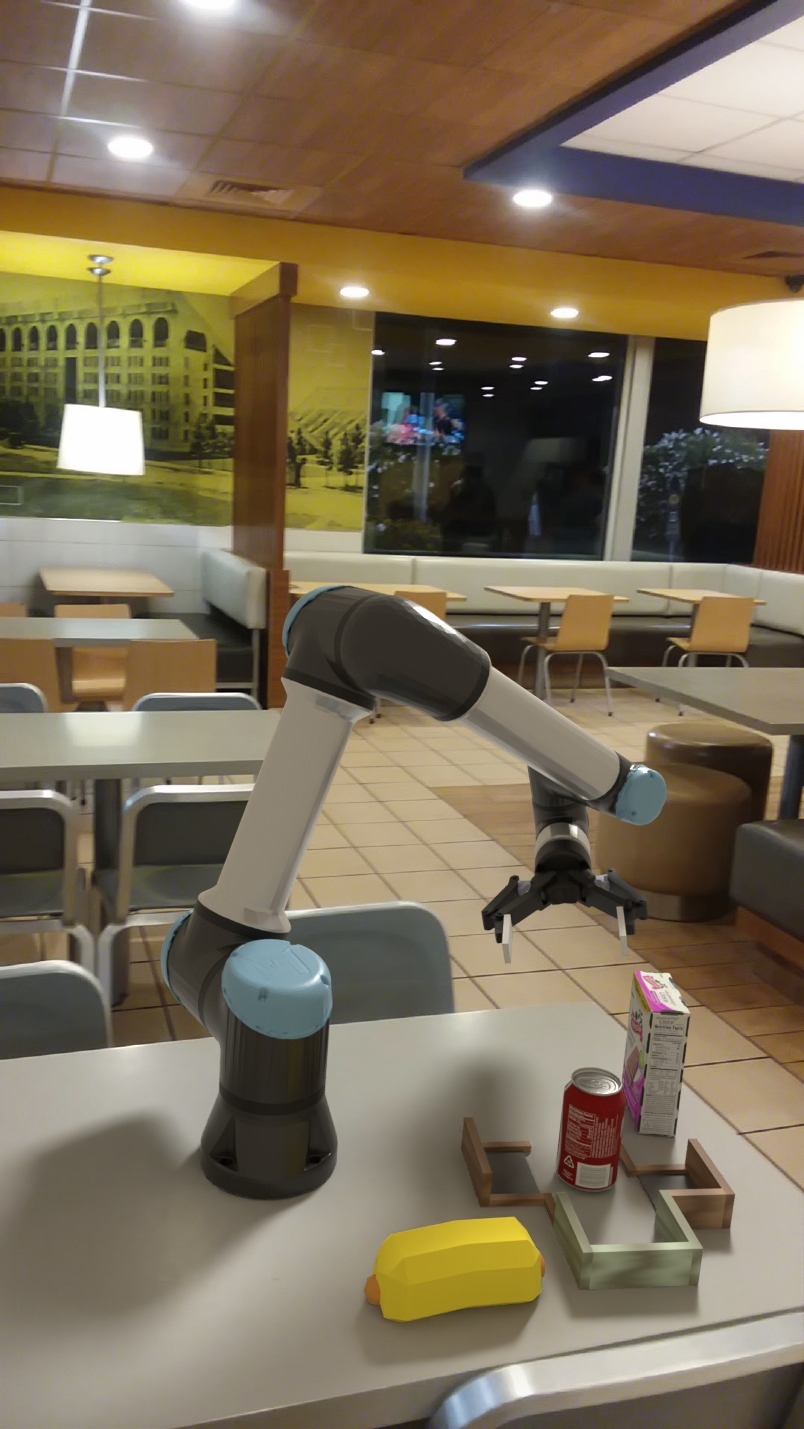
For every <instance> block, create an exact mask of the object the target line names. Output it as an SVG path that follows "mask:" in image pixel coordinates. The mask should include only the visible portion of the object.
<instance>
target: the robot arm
mask: <svg viewBox="0 0 804 1429" xmlns="http://www.w3.org/2000/svg"><path fill="white" fill-rule="evenodd" d="M281 635H282V636H281V637H282V638H281V639H282V645H283V647H284V651H285V652H284V653H285V656H286V657H287V659H288V660H287V661H286V665H285V666H284V670H283V673H282V675H281V678H280V681H281V683H282V685H283V688H284V691H285V693H286V701H285V704H284V707H283V709H282V712H281V714H280V716H279V720H278V722H277V724H276V728H275V730H274V733H273V735H272V738H271V740H270V743H269V745H268V749H267V751H266V753H265V757H264V758H263V761H262V764H261V767H260V769H259V773H258V775H257V777H256V780H255V783H254V785H253V786H252V787H253V788H252V790H251V793H250V796H249V797H248V801H247V804H246V806H245V808H244V811H243V815H242V817H241V819H240V821H239V824H238V827H237V830H236V832H235V835H234V838H233V841H232V843H231V846H230V849H229V851H228V854H227V855H226V859H225V861H224V865H223V867H222V869H221V871H220V874H219V877H218V880H217V883H216V884H215V885H214V886H213V887H211V888H209V889H206V890H204V891H202V892H200V893H199V894H198V896H197V898H196V902H195V904H194V906H193V908H191V909H190V910H188V911H187V912H186V914H185V915H183V916H181V917H180V916H179V917H178V918H177V919H176V920H175V921H174V923H172V925H171V927H170V928H169V929H168V931H167V933H166V935H165V937H164V939H163V943H162V946H161V950H160V969H161V973H162V976H163V980H164V981H165V983H166V985H167V987H168V989H169V990H170V992H171V993H172V995H173V996H174V999H175V1000H176V1001H177V1003H178V1004H180V1006H182V1007H183V1008H184V1009H185V1010H187V1011H188V1012H189V1013H190V1014H191V1015H192V1016H193V1017H194V1018H195V1019H196V1020H197V1022H198V1023H199V1024H201V1025H202V1027H203V1028H204V1029H205V1030H206V1031H207V1032H208V1033H209V1034H210V1035H211V1036H212V1037H213V1039H215V1040H216V1042H218V1044H219V1049H220V1050H219V1051H220V1052H219V1053H220V1054H219V1078H218V1080H219V1082H218V1093H217V1096H216V1098H215V1100H214V1103H213V1106H212V1108H211V1111H210V1113H209V1116H208V1119H207V1120H206V1124H205V1126H204V1129H203V1131H202V1134H201V1138H200V1144H199V1145H200V1149H199V1164H200V1168H201V1170H202V1172H203V1173H204V1175H205V1177H206V1178H207V1179H208V1180H209V1181H210V1182H211V1183H212V1184H214V1185H215V1186H217V1187H218V1188H220V1189H222V1190H224V1192H225V1191H226V1192H228V1193H230V1194H233V1195H237V1196H239V1197H245V1198H249V1199H257V1200H277V1199H286V1198H290V1197H295V1196H299V1195H302V1194H305V1193H307V1192H310V1191H311V1190H313V1189H315V1188H317V1187H319V1186H321V1184H323V1183H324V1182H325V1181H326V1180H328V1179H329V1177H330V1176H331V1175H332V1173H333V1172H334V1171H335V1169H336V1166H337V1159H338V1145H339V1144H338V1143H339V1142H338V1135H337V1134H338V1133H337V1131H336V1128H335V1123H334V1120H333V1117H332V1113H331V1110H330V1106H329V1103H328V1100H327V1096H326V1086H327V1085H326V1084H327V1081H326V1079H327V1071H328V1070H327V1067H328V1057H329V1056H328V1054H329V1040H330V1038H329V1036H330V1025H331V1013H332V1010H333V1003H334V1002H333V992H332V978H331V976H332V975H331V973H330V970H329V967H328V966H327V964H326V962H325V961H324V960H323V959H322V957H321V956H320V955H318V954H317V953H316V952H315V951H313V950H312V949H310V948H308V947H306V946H304V945H302V944H300V943H299V944H291V942H290V941H288V940H287V939H288V937H289V934H290V932H291V929H292V926H291V923H290V921H289V917H288V916H287V914H286V910H285V909H286V906H287V903H288V901H289V898H290V896H291V893H292V890H293V888H294V885H295V883H296V879H297V877H298V875H299V872H300V869H301V866H302V863H303V861H304V858H305V855H306V853H307V851H308V848H309V845H310V842H311V839H312V838H313V835H314V832H315V829H316V826H317V824H318V821H319V819H320V817H321V813H322V811H323V808H324V806H325V803H326V800H327V798H328V795H329V792H330V789H331V787H332V784H333V782H334V779H335V776H336V774H337V771H338V768H339V766H340V763H341V760H342V759H343V758H342V757H343V755H344V753H345V750H346V747H347V745H348V741H349V738H350V736H351V734H352V730H353V729H354V726H355V724H356V723H357V722H358V721H361V720H362V719H364V718H366V717H369V716H370V715H372V714H373V711H374V709H375V706H376V703H377V701H378V699H383V700H387V701H390V702H394V703H397V704H399V705H404V706H406V707H410V708H412V709H414V710H417V711H418V712H419V711H420V712H422V713H424V714H426V715H428V716H430V717H431V718H433V719H434V720H436V721H437V722H440V723H445V724H448V723H454V722H456V723H457V724H460V725H462V726H463V727H464V728H466V729H468V730H469V731H471V732H472V733H474V734H476V735H477V736H480V737H481V738H482V739H483V740H485V741H487V742H489V743H490V744H492V745H494V746H496V747H497V748H499V749H500V750H502V751H504V752H506V753H507V754H508V755H511V757H514V758H515V759H516V760H519V761H520V762H522V763H523V764H525V765H526V766H527V767H526V768H527V772H528V778H529V787H530V793H531V803H532V804H531V805H532V813H533V820H534V831H535V845H534V870H533V871H534V874H533V876H532V877H531V879H530V880H521V879H520V876H519V875H516V874H514V875H511V876H510V877H509V879H508V884H507V885H505V887H503V889H501V890H500V892H499V893H497V894H496V895H495V897H493V898H492V900H490V901H489V903H487V904H486V906H485V907H483V909H482V910H481V912H480V913H481V920H482V925H483V930H484V931H486V932H487V931H491V930H493V929H494V932H493V933H494V938H495V942H496V944H501V946H502V954H503V959H504V964H512V956H513V955H512V953H513V942H514V941H513V940H514V939H513V938H514V931H513V927H515V926H516V925H518V924H519V923H520V922H522V921H524V920H525V919H526V918H528V917H529V916H530V915H532V914H534V913H536V911H540V912H542V911H544V910H545V909H546V908H548V907H550V906H556V905H558V906H559V905H563V904H568V905H569V904H570V905H571V904H574V905H575V904H577V903H578V904H581V905H583V906H585V907H586V908H595V909H597V910H598V911H601V912H602V913H604V914H606V915H608V916H610V917H612V918H614V919H616V920H617V925H618V932H619V942H620V944H619V945H620V952H621V957H628V956H629V949H628V939H627V936H634V935H635V934H636V923H635V922H636V920H637V919H638V920H640V921H647V920H648V919H649V910H648V908H649V906H648V900H647V898H646V897H644V896H643V895H642V894H640V893H639V892H638V891H637V890H636V889H635V888H634V887H632V886H631V885H629V883H627V882H626V881H624V880H623V879H622V878H621V877H619V875H618V873H617V870H616V869H615V868H612V867H610V868H607V869H606V870H605V871H606V872H605V874H601V875H596V874H594V872H593V871H592V870H593V869H592V858H591V845H590V836H589V835H590V833H589V832H590V831H589V829H590V821H589V820H590V819H589V812H588V809H587V808H590V809H592V810H595V811H597V812H600V813H602V814H605V815H607V816H610V817H612V818H615V819H617V820H619V822H621V823H625V822H626V823H628V824H632V825H635V826H645V825H648V824H650V823H652V822H653V821H654V820H656V818H657V817H659V815H660V814H661V812H662V809H663V806H664V805H665V803H666V799H667V794H668V793H667V792H668V790H667V785H666V784H667V783H666V781H665V779H664V776H662V774H661V773H660V772H658V771H656V770H655V769H652V768H649V767H648V766H647V765H646V764H645V765H644V764H637V763H635V762H633V761H631V760H630V759H628V758H627V757H625V756H624V755H622V754H621V753H619V752H617V751H615V750H614V749H612V748H611V747H610V746H608V745H607V744H605V743H604V742H603V741H601V740H600V739H598V738H597V737H595V736H594V735H593V734H592V733H590V732H588V731H586V730H585V729H583V728H582V727H581V726H580V725H578V724H576V723H575V722H574V721H572V720H571V719H569V718H567V717H566V716H564V715H563V714H562V713H561V712H559V711H558V710H557V709H555V708H553V707H552V706H550V705H549V704H548V703H546V702H544V701H543V700H542V699H540V698H538V696H535V695H534V694H533V693H531V692H530V691H528V690H527V689H525V688H524V687H522V686H521V685H520V684H518V682H516V681H514V680H512V679H511V678H509V677H508V676H507V675H505V674H504V673H503V672H501V671H499V670H498V669H497V668H495V667H494V666H493V665H492V661H491V657H490V656H489V654H488V652H487V651H485V649H483V648H482V647H481V646H479V645H478V644H476V643H475V642H473V641H472V640H470V639H469V638H468V637H467V636H465V635H464V634H463V633H461V632H459V631H458V630H457V629H455V628H454V627H453V626H451V625H450V624H449V623H448V622H446V621H445V620H443V619H442V618H440V617H439V616H437V615H436V614H434V613H433V612H431V611H430V610H429V609H428V608H426V607H425V606H422V605H420V604H419V603H417V602H415V601H414V600H411V599H409V598H406V597H403V596H399V595H396V594H395V595H394V594H387V593H383V592H379V591H374V590H370V589H366V588H362V587H359V586H354V585H346V584H345V585H344V584H341V585H340V584H338V585H335V584H333V585H331V584H330V585H325V586H319V587H317V588H314V589H313V590H311V591H308V592H306V593H305V594H304V595H302V596H301V597H300V598H299V599H298V600H297V601H296V602H295V603H294V604H293V606H292V607H291V609H290V610H289V612H288V614H287V615H286V618H285V620H284V624H283V628H282V634H281Z"/></svg>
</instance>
